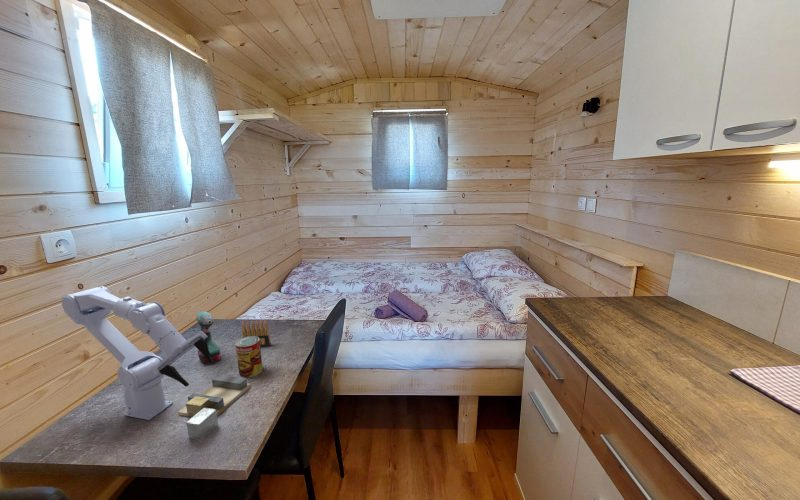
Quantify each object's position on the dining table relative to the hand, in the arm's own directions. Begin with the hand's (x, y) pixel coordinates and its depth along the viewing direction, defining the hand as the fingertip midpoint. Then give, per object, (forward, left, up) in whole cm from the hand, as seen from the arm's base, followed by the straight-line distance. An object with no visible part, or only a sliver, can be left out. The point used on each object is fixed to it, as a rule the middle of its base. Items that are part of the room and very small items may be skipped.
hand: (200, 374), depth 92 cm
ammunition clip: (-16, +44, -16) cm, 50 cm away
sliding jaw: (-6, +5, -15) cm, 17 cm away
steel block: (+1, -2, -16) cm, 16 cm away
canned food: (-6, +27, -16) cm, 32 cm away
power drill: (-26, +30, -16) cm, 43 cm away
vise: (-6, +10, -16) cm, 20 cm away
